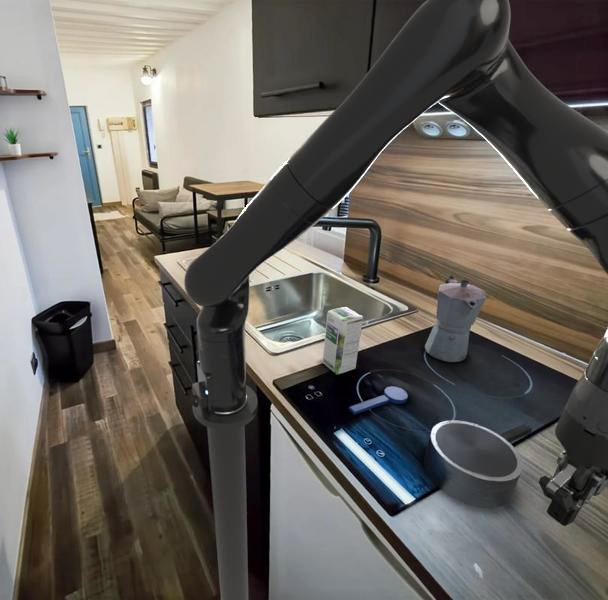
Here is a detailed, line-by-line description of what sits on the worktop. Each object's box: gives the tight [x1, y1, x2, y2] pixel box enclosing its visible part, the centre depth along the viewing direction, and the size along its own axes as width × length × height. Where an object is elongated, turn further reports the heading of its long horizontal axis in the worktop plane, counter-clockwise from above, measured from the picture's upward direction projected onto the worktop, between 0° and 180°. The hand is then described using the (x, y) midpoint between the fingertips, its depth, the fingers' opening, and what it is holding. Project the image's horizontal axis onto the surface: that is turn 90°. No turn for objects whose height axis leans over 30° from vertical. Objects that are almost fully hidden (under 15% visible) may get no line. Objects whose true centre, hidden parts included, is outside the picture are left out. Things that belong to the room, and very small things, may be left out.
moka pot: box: [424, 275, 487, 363], centre depth 87 cm, size 10×15×20 cm, turn 172°
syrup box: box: [322, 306, 364, 375], centre depth 85 cm, size 6×6×14 cm
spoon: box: [348, 386, 409, 415], centre depth 76 cm, size 14×4×1 cm, turn 110°
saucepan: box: [423, 419, 533, 509], centre depth 60 cm, size 19×12×6 cm, turn 110°
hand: (558, 517), depth 48 cm, fingers closed
